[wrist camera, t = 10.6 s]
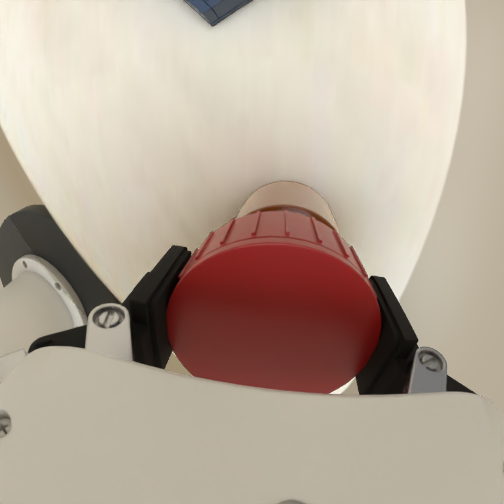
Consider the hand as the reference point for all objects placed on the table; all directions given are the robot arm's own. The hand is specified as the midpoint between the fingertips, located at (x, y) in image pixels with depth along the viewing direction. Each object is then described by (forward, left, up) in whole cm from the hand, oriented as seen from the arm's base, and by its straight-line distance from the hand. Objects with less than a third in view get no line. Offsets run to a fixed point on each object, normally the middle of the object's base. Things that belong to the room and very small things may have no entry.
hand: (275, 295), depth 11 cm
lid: (0, 0, +2) cm, 2 cm away
